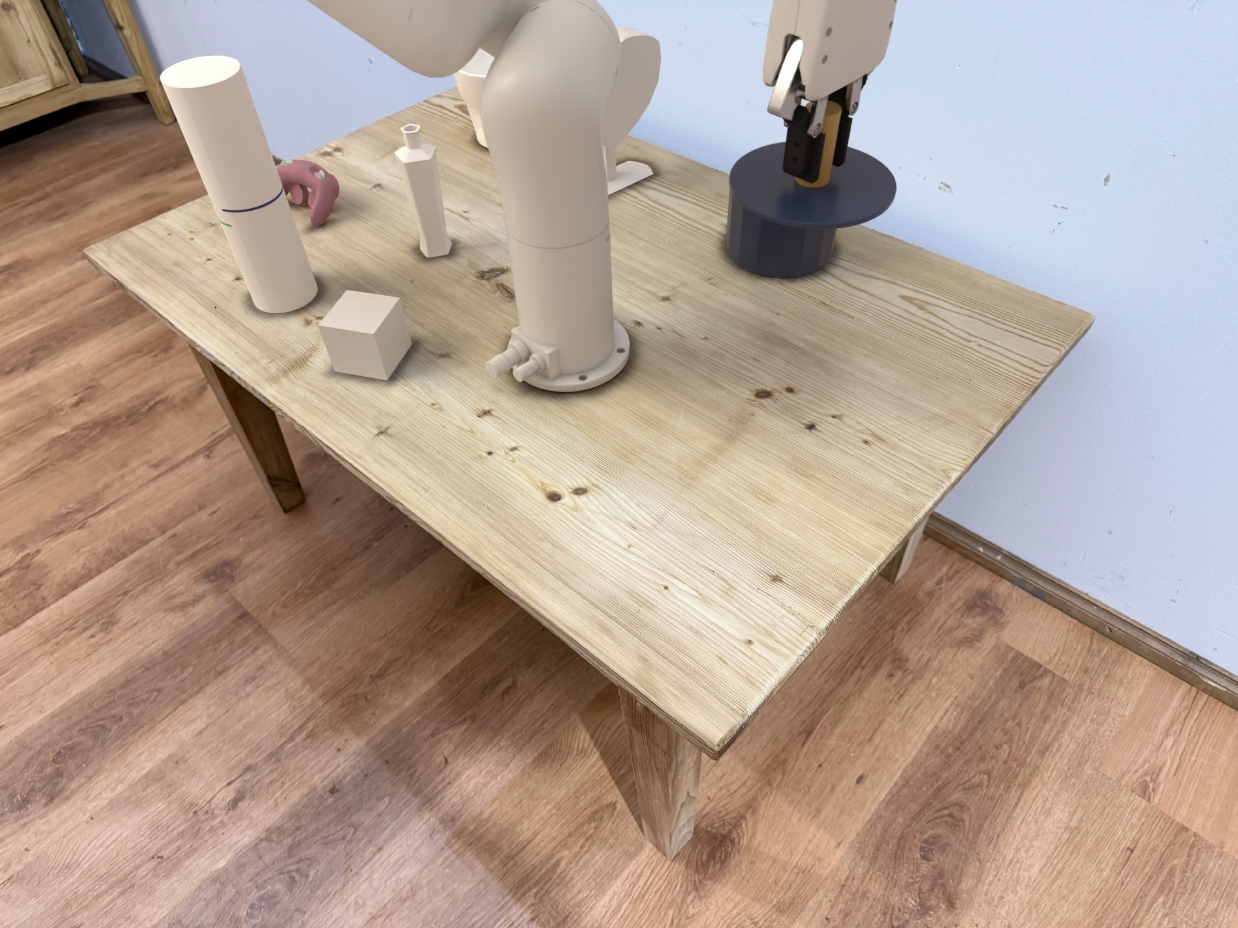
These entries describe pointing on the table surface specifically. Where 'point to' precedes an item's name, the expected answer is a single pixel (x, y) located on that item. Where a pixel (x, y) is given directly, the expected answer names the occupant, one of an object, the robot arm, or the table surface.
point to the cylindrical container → (241, 179)
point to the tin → (775, 245)
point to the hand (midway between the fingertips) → (813, 166)
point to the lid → (814, 185)
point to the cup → (474, 88)
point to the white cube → (366, 334)
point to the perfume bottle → (424, 191)
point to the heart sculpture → (629, 103)
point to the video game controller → (314, 177)
